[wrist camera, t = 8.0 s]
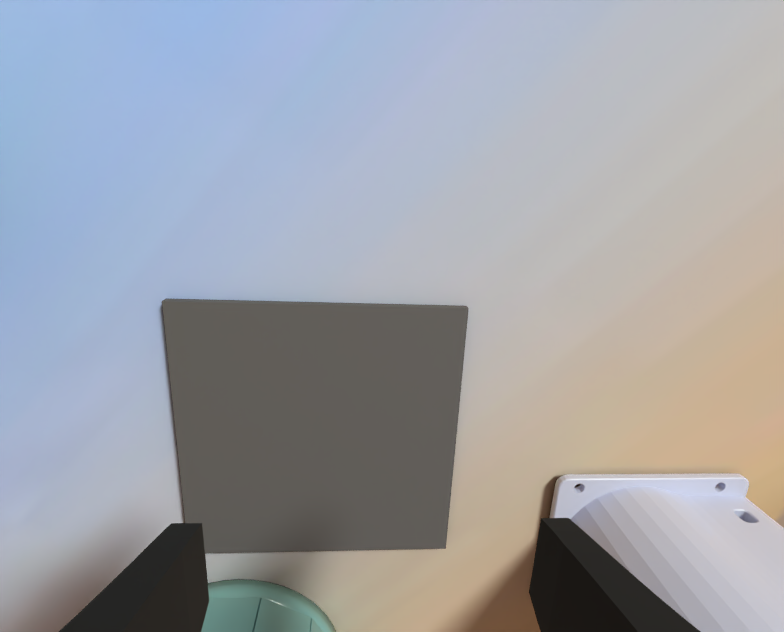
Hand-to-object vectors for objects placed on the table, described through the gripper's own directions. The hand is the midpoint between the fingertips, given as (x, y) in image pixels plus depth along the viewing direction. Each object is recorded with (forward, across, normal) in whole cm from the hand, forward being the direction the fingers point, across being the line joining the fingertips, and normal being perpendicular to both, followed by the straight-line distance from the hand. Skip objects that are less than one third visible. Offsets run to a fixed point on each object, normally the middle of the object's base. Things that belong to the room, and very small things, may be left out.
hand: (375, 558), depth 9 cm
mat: (+10, +2, +3) cm, 11 cm away
